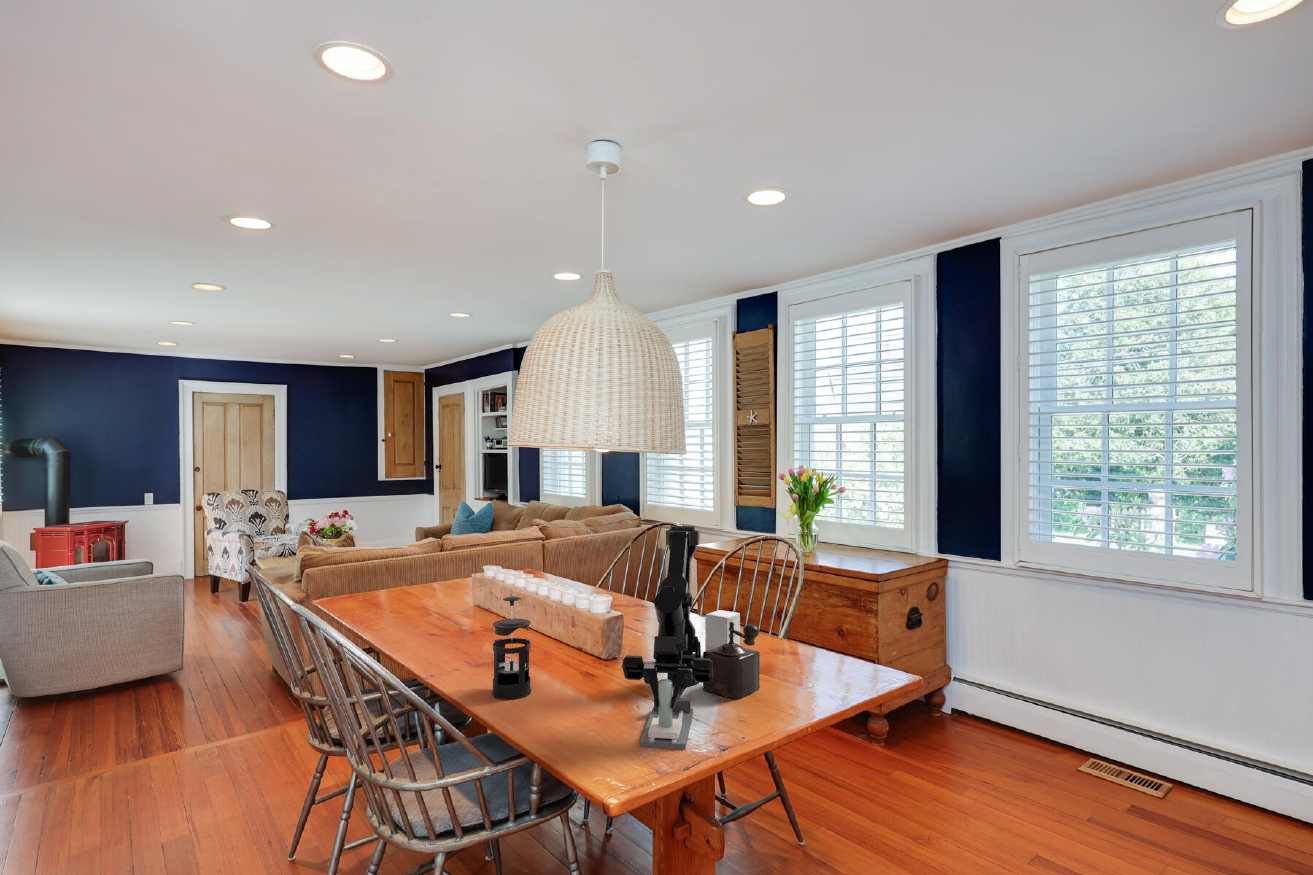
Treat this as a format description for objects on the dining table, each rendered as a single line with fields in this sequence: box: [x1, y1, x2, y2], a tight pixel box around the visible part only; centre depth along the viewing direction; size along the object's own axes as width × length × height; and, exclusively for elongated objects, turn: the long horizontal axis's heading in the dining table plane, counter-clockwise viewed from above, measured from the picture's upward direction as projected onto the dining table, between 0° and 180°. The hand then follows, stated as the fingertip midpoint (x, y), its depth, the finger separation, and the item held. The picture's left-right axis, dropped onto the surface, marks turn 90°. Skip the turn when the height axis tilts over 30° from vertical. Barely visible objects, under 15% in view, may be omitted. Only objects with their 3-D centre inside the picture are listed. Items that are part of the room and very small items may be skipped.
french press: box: [491, 596, 532, 701], centre depth 168 cm, size 12×9×23 cm
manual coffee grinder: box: [702, 622, 761, 700], centre depth 168 cm, size 16×11×18 cm
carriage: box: [648, 678, 682, 739], centre depth 141 cm, size 7×6×10 cm
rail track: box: [639, 697, 694, 750], centre depth 146 cm, size 19×9×4 cm, turn 172°
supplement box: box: [704, 609, 741, 652], centre depth 196 cm, size 7×7×13 cm
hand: (664, 708), depth 140 cm, fingers closed on carriage, 3 cm apart
